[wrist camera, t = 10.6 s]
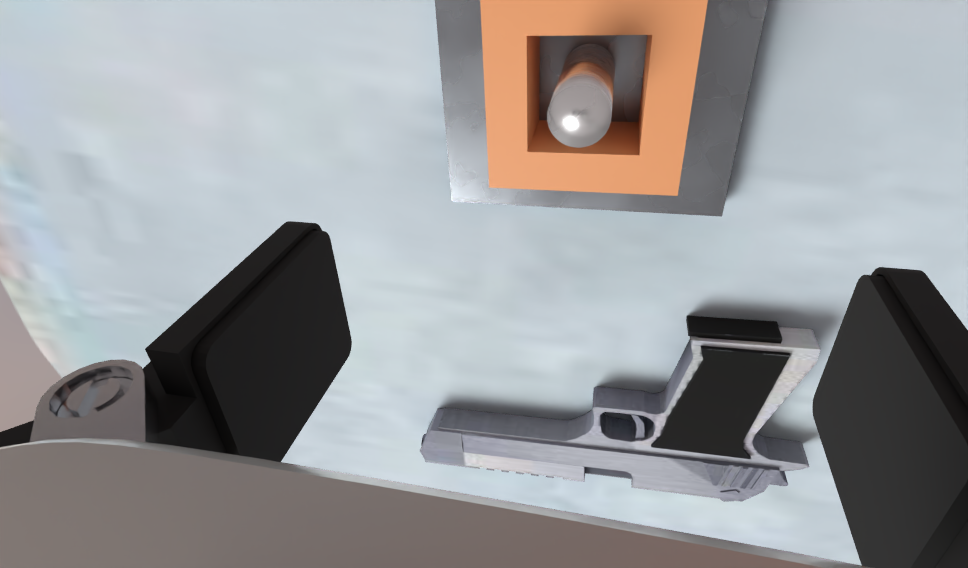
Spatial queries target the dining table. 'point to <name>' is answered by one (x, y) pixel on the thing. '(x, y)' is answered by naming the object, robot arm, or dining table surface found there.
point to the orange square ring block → (626, 145)
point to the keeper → (602, 105)
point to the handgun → (659, 421)
